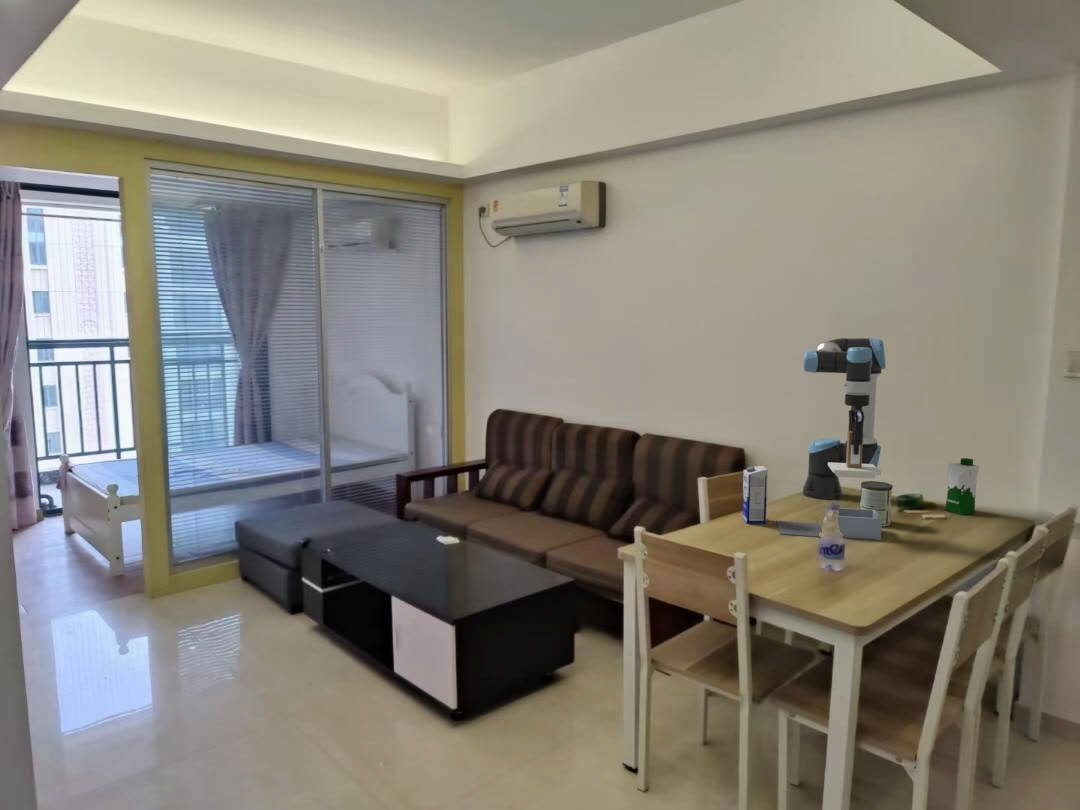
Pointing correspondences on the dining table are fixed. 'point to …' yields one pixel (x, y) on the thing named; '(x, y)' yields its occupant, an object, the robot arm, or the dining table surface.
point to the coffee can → (877, 499)
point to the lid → (853, 469)
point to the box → (859, 523)
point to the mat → (798, 528)
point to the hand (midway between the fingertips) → (853, 462)
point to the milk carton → (754, 495)
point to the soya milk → (961, 487)
